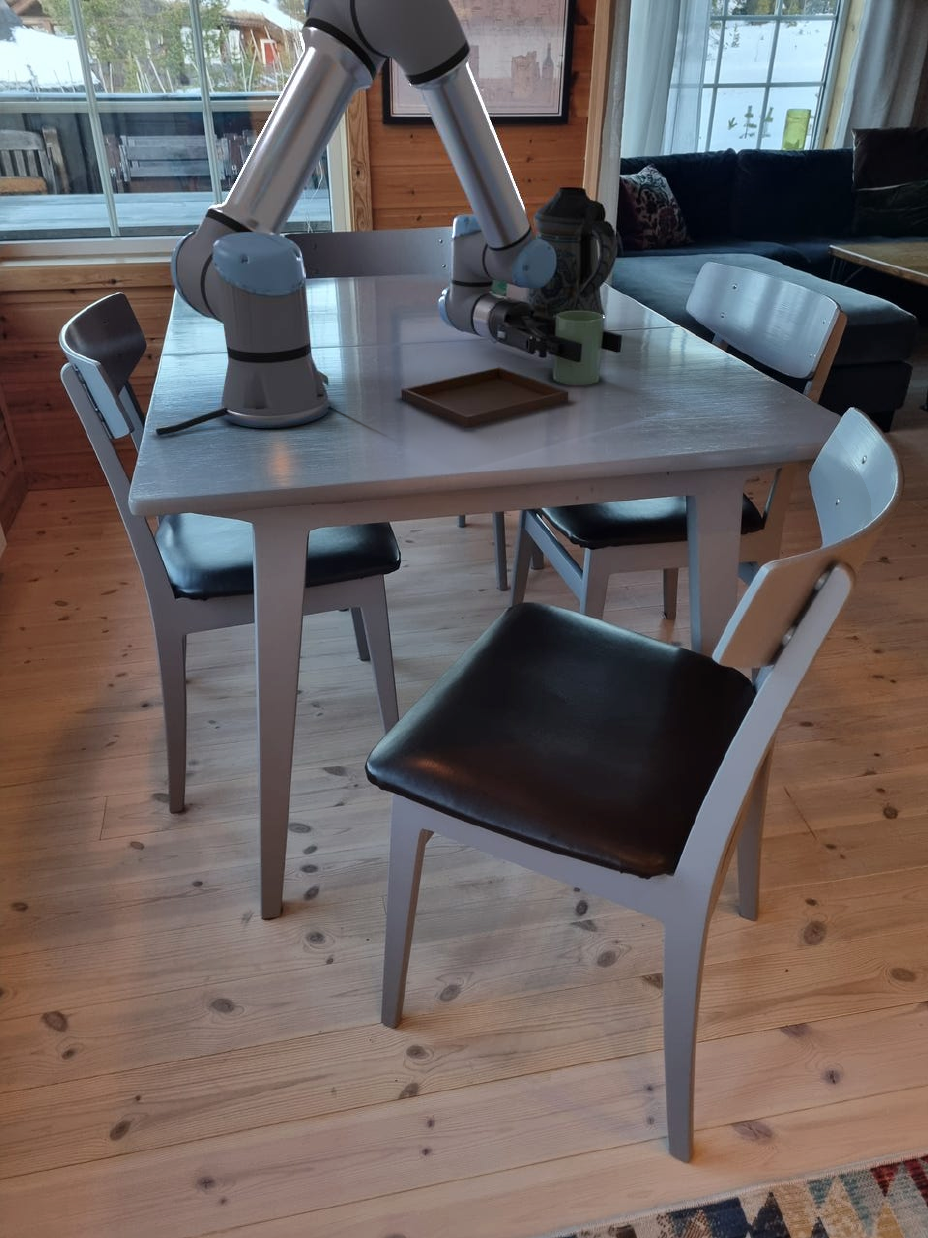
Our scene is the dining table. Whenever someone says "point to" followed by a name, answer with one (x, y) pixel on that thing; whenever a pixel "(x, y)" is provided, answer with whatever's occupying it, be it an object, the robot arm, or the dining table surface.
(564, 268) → the beer stein
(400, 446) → the dining table surface
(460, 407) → the tray
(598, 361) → the cup
